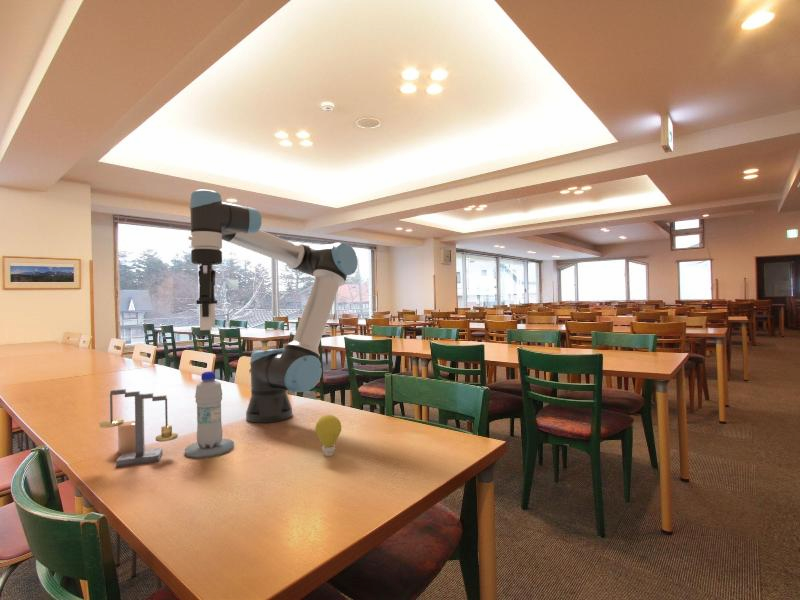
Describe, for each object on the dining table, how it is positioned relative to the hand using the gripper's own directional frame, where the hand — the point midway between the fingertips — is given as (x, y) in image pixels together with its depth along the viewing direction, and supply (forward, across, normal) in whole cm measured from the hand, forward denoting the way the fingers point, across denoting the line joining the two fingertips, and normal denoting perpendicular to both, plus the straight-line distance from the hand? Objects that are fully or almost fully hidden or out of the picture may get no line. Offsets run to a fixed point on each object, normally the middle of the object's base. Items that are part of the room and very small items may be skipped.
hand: (208, 328), depth 113 cm
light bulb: (+33, +16, +29) cm, 47 cm away
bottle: (+32, 0, 0) cm, 32 cm away
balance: (+33, +1, -16) cm, 36 cm away
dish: (+33, 0, 0) cm, 33 cm away
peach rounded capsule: (+33, -9, -20) cm, 39 cm away
